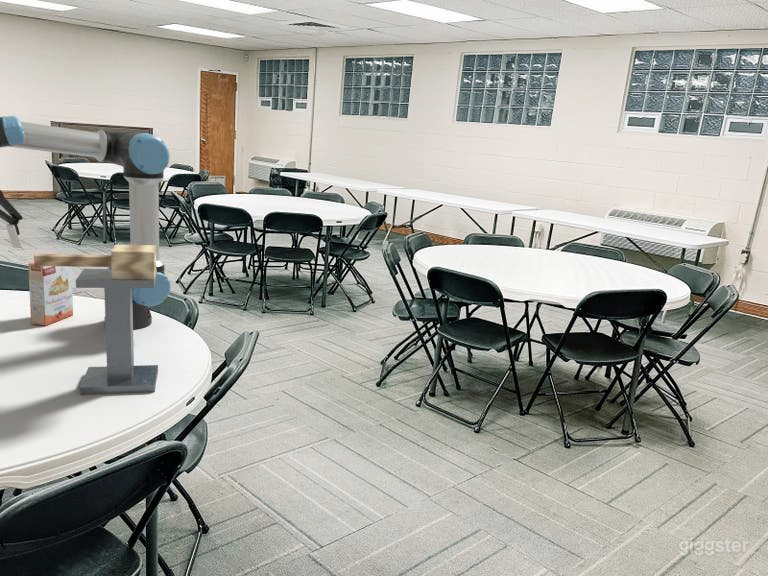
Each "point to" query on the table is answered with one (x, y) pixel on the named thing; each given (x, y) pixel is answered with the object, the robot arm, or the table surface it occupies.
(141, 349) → the table surface
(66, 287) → the cracker box
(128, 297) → the stand
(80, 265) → the mallet
